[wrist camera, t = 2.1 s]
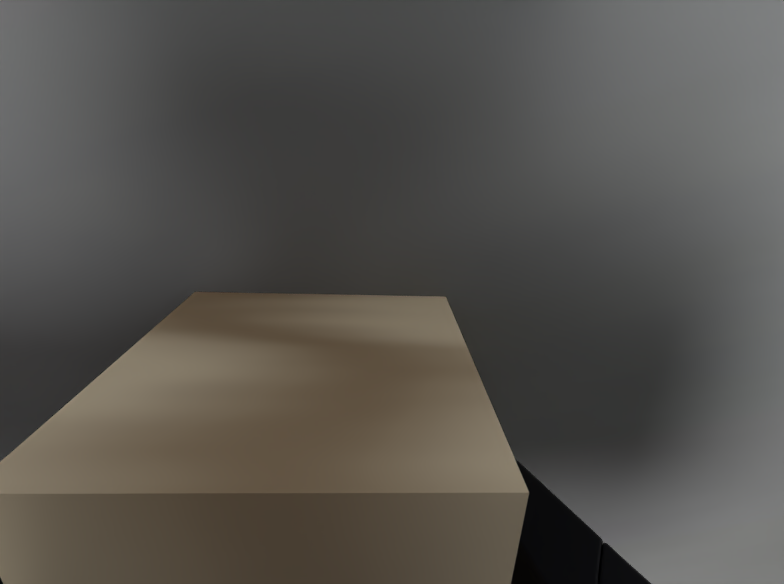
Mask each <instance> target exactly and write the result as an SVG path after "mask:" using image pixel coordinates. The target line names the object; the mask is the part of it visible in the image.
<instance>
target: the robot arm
mask: <svg viewBox="0 0 784 584" xmlns="http://www.w3.org/2000/svg"><path fill="white" fill-rule="evenodd" d="M515 460H516V459H515ZM516 463H517V465H518V467H519V470H520V472H521V474H522V477H523V479H524V482H525V484H526V486H527V489H528V491H529V496H528V501H527V506H526V511H525V516H524V521H523V526H522V531H521V536H520V541H519V546H518V551H517V556H516V561H515V565H514V570H513V575H512V580H511V584H651V583H650V582H649V581H648V580H647V579H645V578H644V577H643V576H642V575H641V574H640V573H639V572H638V571H636V570H635V569H634V568H633V567H632V566H631V565H630V564H629V563H628V562H626V561H625V560H624V559H623V558H622V557H621V556H620V555H619V554H618V553H617V552H616V551H615V550H613V549H612V548H611V547H610V546H609V545H608V544H607V543H603V541H602V539H601V538H600V537H599V536H598V535H597V534H596V533H595V532H594V531H593V530H592V529H591V528H589V527H588V526H587V525H586V524H585V523H584V522H583V521H582V520H581V519H580V518H579V517H578V516H577V515H575V514H574V513H573V512H572V511H571V510H570V509H569V508H568V507H567V506H566V505H565V504H564V503H563V502H561V501H560V500H559V499H558V498H557V497H556V496H555V495H554V494H553V493H552V492H551V491H550V490H548V489H547V488H546V487H545V486H544V485H543V484H542V483H541V482H540V481H539V480H538V479H537V478H536V477H534V476H533V475H532V474H531V473H530V472H529V471H528V470H527V469H526V468H525V467H524V466H523V465H522V464H520V463H519V462H518V461H517V460H516ZM602 543H603V544H602ZM0 584H3V582H2V580H1V578H0Z"/></svg>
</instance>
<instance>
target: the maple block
mask: <svg viewBox="0 0 784 584" xmlns="http://www.w3.org/2000/svg"><path fill="white" fill-rule="evenodd" d="M528 496H529V491H528V489H527V486H526V484H525V482H524V479H523V477H522V474H521V472H520V470H519V467H518V465H517V463H516V460H515V458H514V456H513V453H512V451H511V449H510V446H509V444H508V442H507V439H506V437H505V435H504V432H503V430H502V428H501V425H500V423H499V421H498V418H497V416H496V413H495V411H494V409H493V406H492V404H491V402H490V399H489V397H488V395H487V392H486V390H485V388H484V385H483V383H482V381H481V378H480V376H479V374H478V371H477V369H476V367H475V364H474V362H473V360H472V357H471V355H470V352H469V350H468V348H467V345H466V343H465V341H464V338H463V336H462V334H461V331H460V329H459V327H458V324H457V322H456V320H455V317H454V315H453V313H452V310H451V308H450V306H449V303H448V301H447V298H446V297H442V296H389V295H337V294H284V293H231V292H194V293H193V294H192V295H191V296H190V297H188V298H187V299H186V300H185V301H184V302H183V303H182V304H180V305H179V306H178V307H177V308H176V309H175V310H174V311H172V312H171V313H170V314H169V315H168V316H167V317H166V318H164V319H163V320H162V321H161V322H160V323H159V324H158V325H156V326H155V327H154V328H153V329H152V330H151V331H149V332H148V333H147V334H146V335H145V336H144V337H143V338H141V339H140V340H139V341H138V342H137V343H136V344H135V345H133V346H132V347H131V348H130V349H129V350H128V351H127V352H125V353H124V354H123V355H122V356H121V357H120V358H119V359H117V360H116V361H115V362H114V363H113V364H112V365H111V366H109V367H108V368H107V369H106V370H105V371H104V372H103V373H101V374H100V375H99V376H98V377H97V378H96V379H95V380H93V381H92V382H91V383H90V384H89V385H88V386H87V387H85V388H84V389H83V390H82V391H81V392H80V393H79V394H77V395H76V396H75V397H74V398H73V399H72V400H71V401H69V402H68V403H67V404H66V405H65V406H64V407H63V408H61V409H60V410H59V411H58V412H57V413H56V414H54V415H53V416H52V417H51V418H50V419H49V420H48V421H46V422H45V423H44V424H43V425H42V426H41V427H40V428H38V429H37V430H36V431H35V432H34V433H33V434H32V435H30V436H29V437H28V438H27V439H26V440H25V441H24V442H22V443H21V444H20V445H19V446H18V447H17V448H16V449H14V450H13V451H12V452H11V453H10V454H9V455H8V456H6V457H5V458H4V459H3V460H2V461H1V462H0V578H1V580H2V582H3V584H511V580H512V575H513V570H514V565H515V561H516V556H517V551H518V546H519V541H520V536H521V531H522V526H523V521H524V516H525V511H526V506H527V501H528Z"/></svg>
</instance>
